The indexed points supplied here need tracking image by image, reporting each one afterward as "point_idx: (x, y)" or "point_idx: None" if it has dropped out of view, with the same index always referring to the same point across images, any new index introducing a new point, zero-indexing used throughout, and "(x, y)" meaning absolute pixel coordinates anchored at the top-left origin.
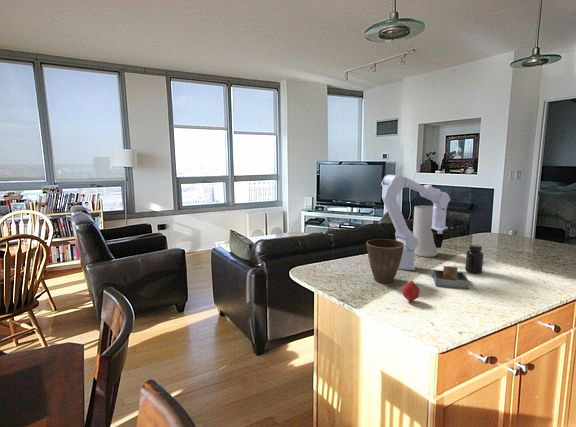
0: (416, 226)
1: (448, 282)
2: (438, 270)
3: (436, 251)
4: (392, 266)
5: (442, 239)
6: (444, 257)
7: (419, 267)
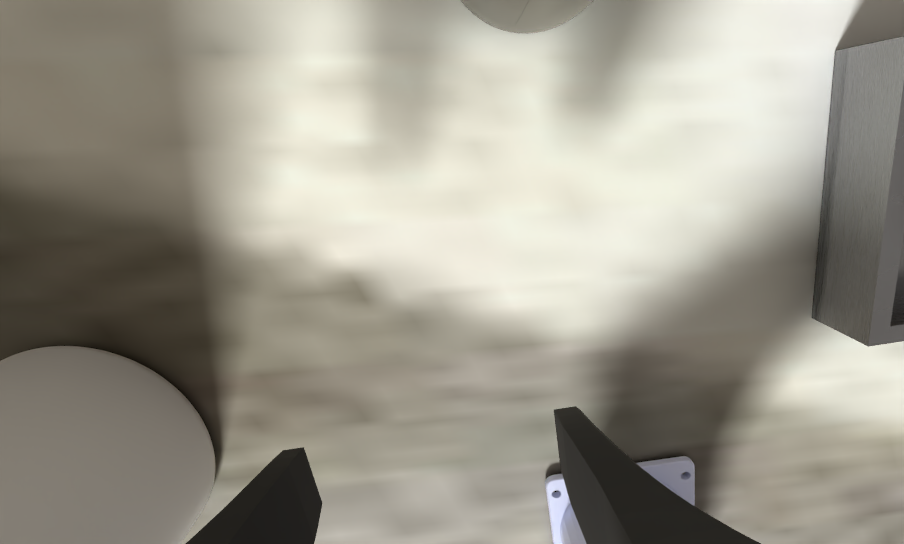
0: None
1: None
2: (887, 299)
3: (73, 372)
4: None
5: (704, 524)
6: (103, 268)
7: None
